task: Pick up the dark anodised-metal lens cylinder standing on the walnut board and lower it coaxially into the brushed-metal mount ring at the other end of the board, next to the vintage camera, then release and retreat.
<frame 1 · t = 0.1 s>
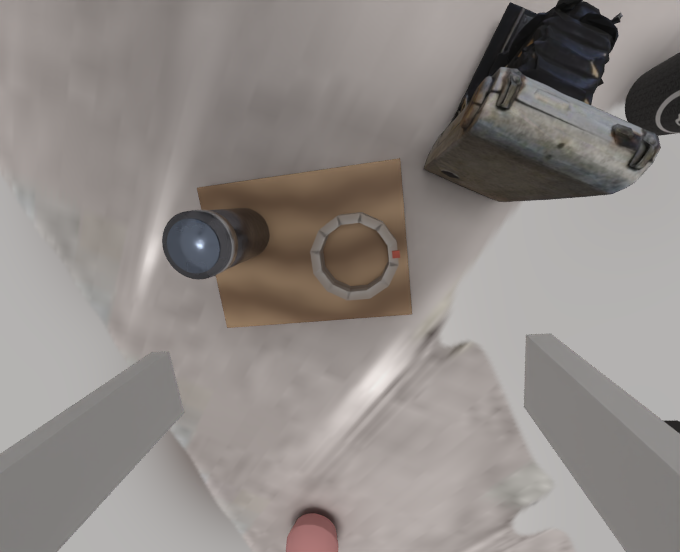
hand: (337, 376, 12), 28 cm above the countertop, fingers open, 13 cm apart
perfume bottle: (317, 520, 50), on the countertop
vintage camera: (491, 117, 34), on the countertop
mount board: (307, 249, 39), on the countertop
coffee cup: (659, 101, 32), on the countertop
lens: (245, 233, 38), point 1 cm above the countertop, touching mount board
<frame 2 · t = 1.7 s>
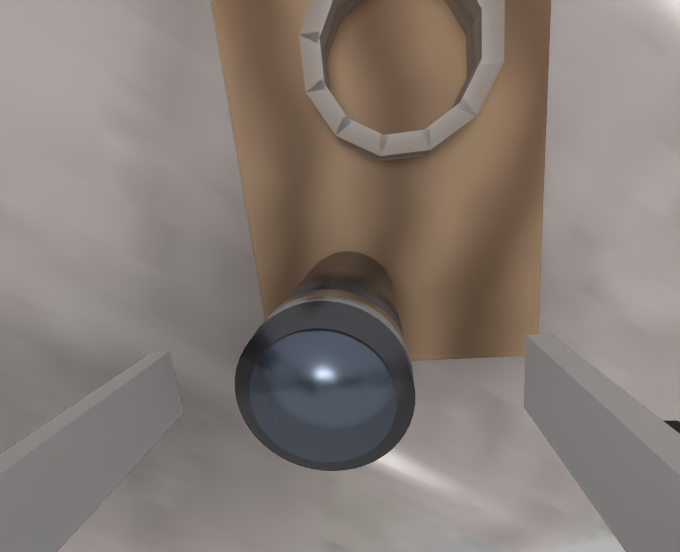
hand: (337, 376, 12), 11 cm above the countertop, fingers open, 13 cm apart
mount board: (384, 183, 20), on the countertop
lens: (348, 295, 21), point 2 cm above the countertop, touching mount board
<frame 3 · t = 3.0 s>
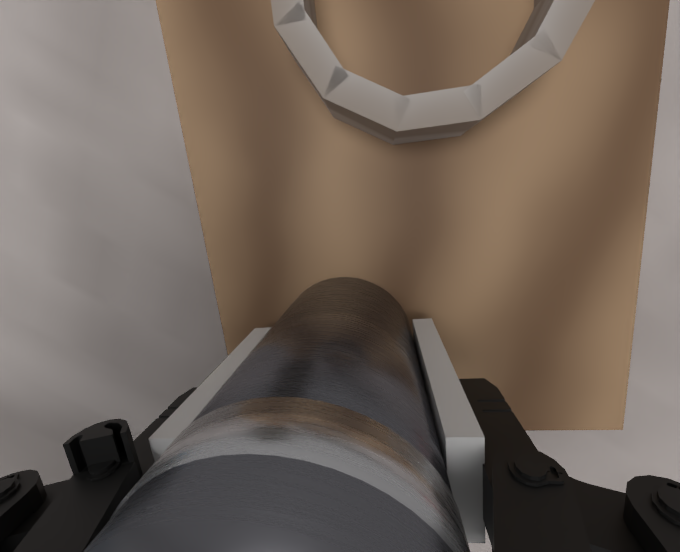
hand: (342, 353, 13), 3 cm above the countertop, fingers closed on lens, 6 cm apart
mount board: (399, 177, 14), on the countertop
lens: (346, 339, 15), point 2 cm above the countertop, touching gripper, mount board
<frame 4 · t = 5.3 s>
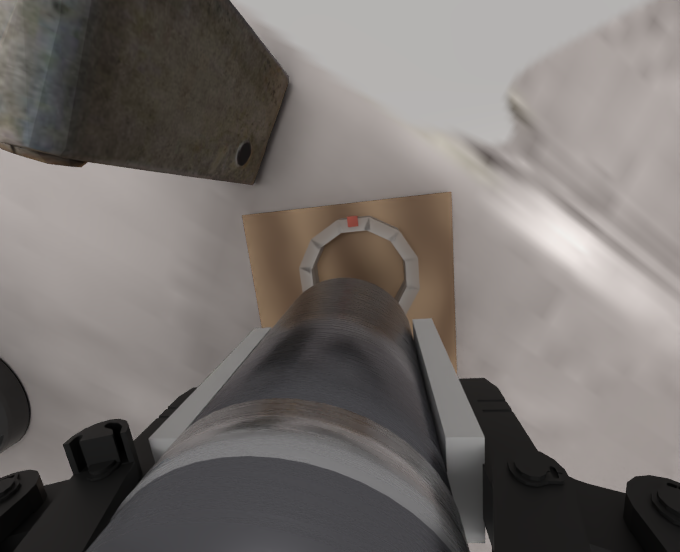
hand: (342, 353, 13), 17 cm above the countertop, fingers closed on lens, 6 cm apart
vintage camera: (198, 104, 28), on the countertop
mount board: (356, 328, 31), on the countertop
lens: (346, 339, 15), point 15 cm above the countertop, touching gripper
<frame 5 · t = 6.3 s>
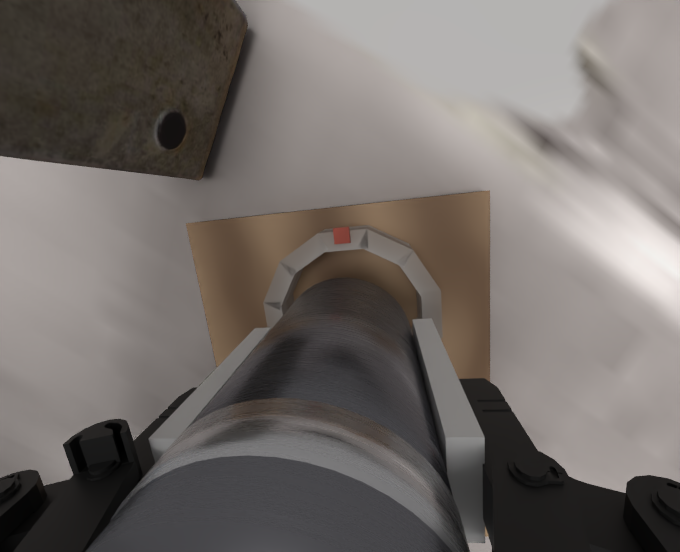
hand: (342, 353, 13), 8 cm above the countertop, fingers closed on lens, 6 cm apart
vintage camera: (123, 64, 19), on the countertop
mount board: (350, 378, 22), on the countertop
lens: (346, 339, 15), point 7 cm above the countertop, touching gripper
when the fingers open (4 cm above the countertop, at t = 7.4 s): lens drops 1 cm, resting on mount board.
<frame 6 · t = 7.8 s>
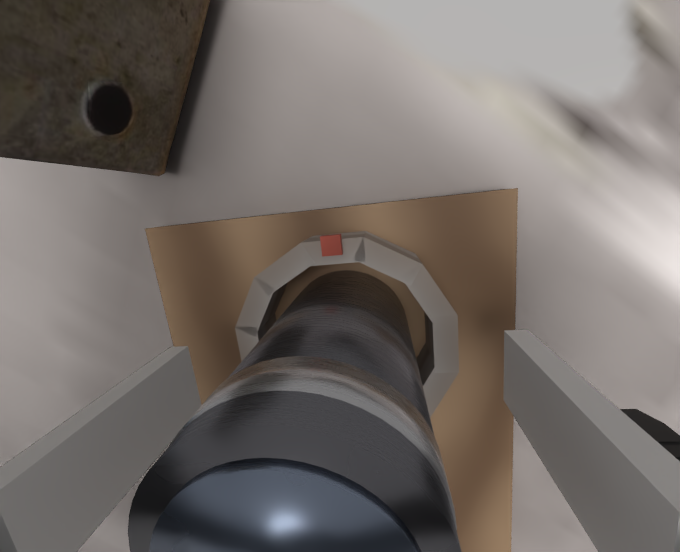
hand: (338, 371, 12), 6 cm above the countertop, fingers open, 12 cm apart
vintage camera: (69, 35, 16), on the countertop
mount board: (344, 410, 19), on the countertop
lens: (347, 327, 16), point 2 cm above the countertop, touching mount board
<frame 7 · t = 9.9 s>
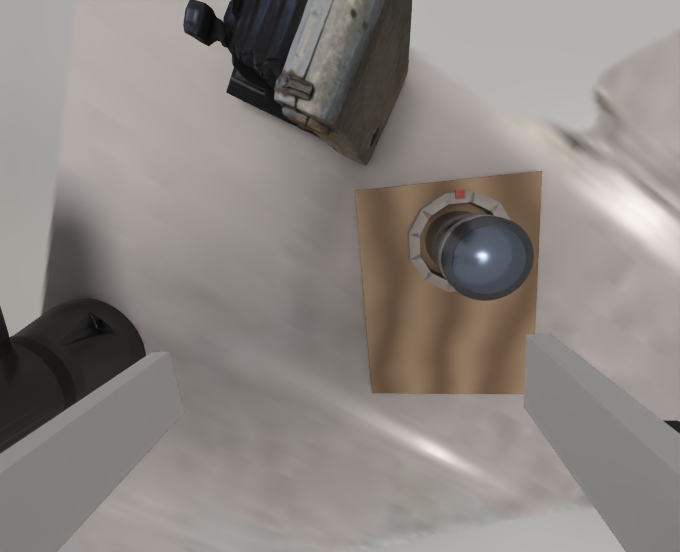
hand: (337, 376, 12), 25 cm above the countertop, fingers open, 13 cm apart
vintage camera: (320, 96, 33), on the countertop
mount board: (444, 291, 36), on the countertop
lens: (454, 240, 33), point 2 cm above the countertop, touching mount board
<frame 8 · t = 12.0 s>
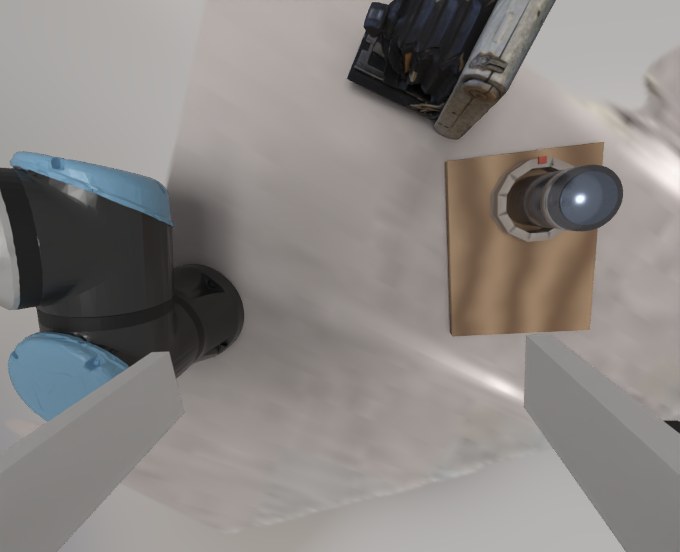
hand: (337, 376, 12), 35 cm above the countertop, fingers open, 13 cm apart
vintage camera: (417, 82, 40), on the countertop
mount board: (516, 246, 43), on the countertop
lens: (530, 200, 40), point 2 cm above the countertop, touching mount board
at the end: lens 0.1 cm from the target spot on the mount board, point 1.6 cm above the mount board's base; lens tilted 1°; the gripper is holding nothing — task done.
